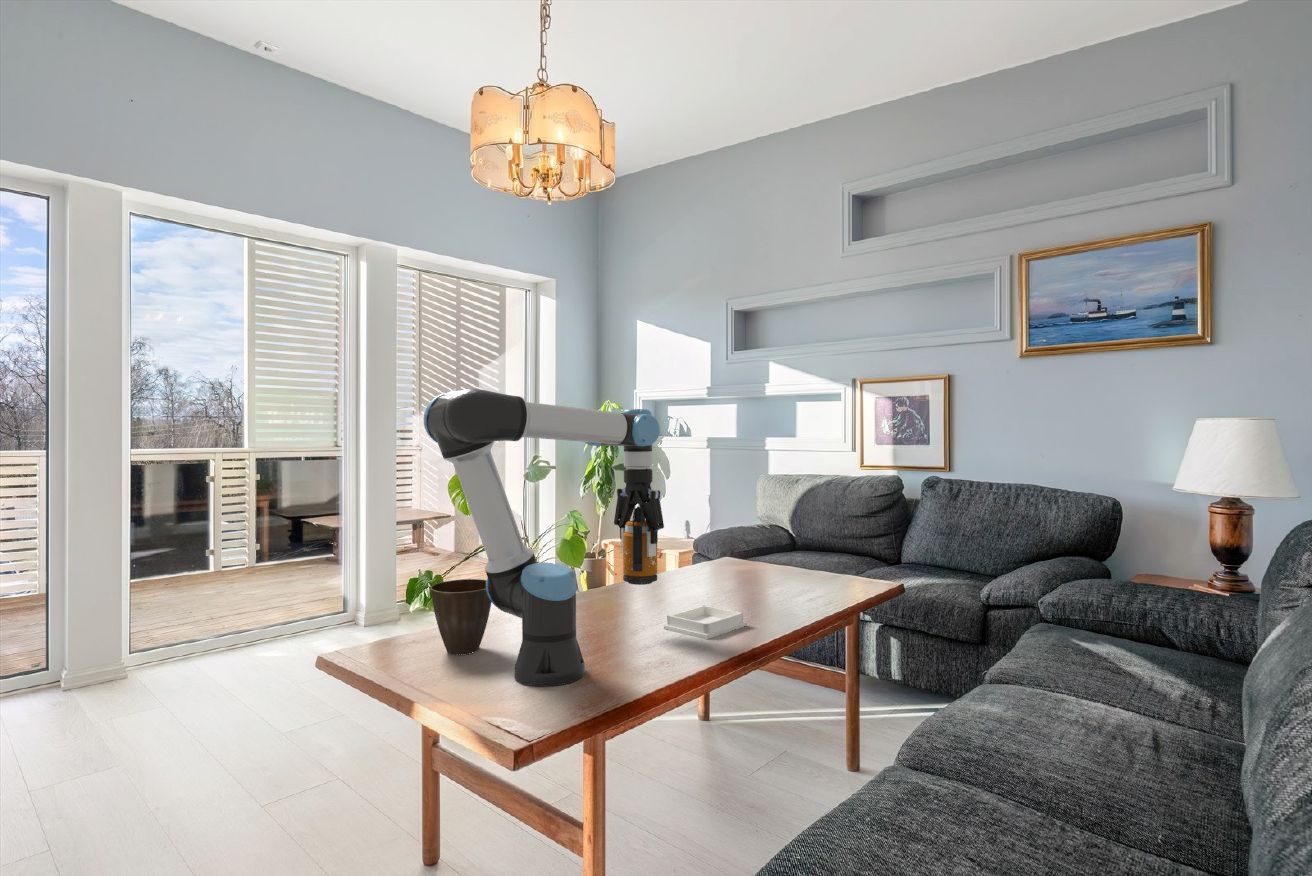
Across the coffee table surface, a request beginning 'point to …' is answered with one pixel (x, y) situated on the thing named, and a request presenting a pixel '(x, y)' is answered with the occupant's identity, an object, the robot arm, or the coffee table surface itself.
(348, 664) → the coffee table surface
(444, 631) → the plant pot
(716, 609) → the tray
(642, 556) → the canister
